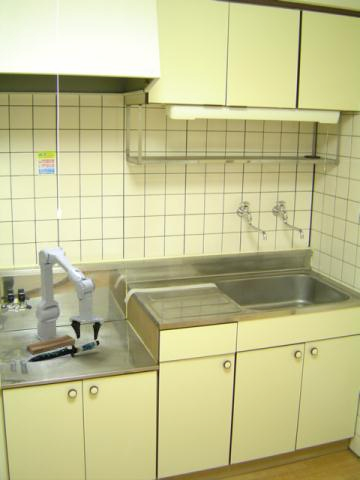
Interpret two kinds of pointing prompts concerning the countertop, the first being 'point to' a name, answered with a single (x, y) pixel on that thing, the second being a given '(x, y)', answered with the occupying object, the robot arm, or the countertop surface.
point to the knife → (65, 352)
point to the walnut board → (50, 344)
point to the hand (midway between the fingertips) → (87, 338)
